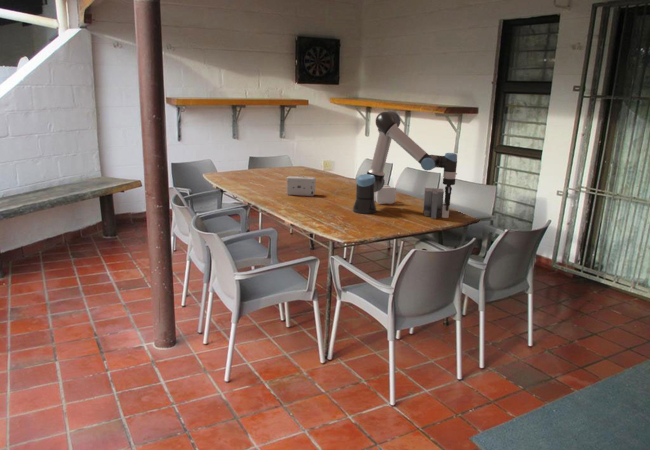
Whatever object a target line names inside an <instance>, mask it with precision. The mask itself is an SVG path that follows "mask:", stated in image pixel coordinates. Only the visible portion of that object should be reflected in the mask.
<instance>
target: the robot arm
mask: <svg viewBox="0 0 650 450" xmlns="http://www.w3.org/2000/svg"><path fill="white" fill-rule="evenodd" d="M401 120H402V119H401V117H400V115H399V114H398V113H397V112H396V111H391V110H389V111H382V112H380V113H378V114H377V116H376V118H375V125H376V127H377V132H378V138H377V141H376V145H375V146H376V147H375V149H374V153H373V157H372V162H371V166H370V168H369V169H367V171H366V174H359V175H358V176H357V178H356V188H355V189H356V190H355V191H356V192H355V193H356V196H355V201H354V204H353V206H352V207H353V208H352V212H354V213H356V214H357V213H358V214H363V215H364V214H365V215H367V214H375V213H377V206H376V202H374V192H377V191H379V190H381V189H382V187H383V186H384V185H385V172H384V170H385V166H386V161H387V158H388V155H389V151H390V147H391V142H392V140H393V141H394V142H395V143H396V144H397V145H399V146H400V148H402V149H403V150H404V151H405V152H406V153H407V154H409V155H410V156H411V157H412V158H413V159H414V160H415V161H417V162H418V163H419V165H420V167H421V169H423V170H424V171H432V170H433V169H435V168H440V169H443V173H442V174H443V175H442V177H443V178H442V184H443V185H445V187H444V203H443V204H444V205H445V211H444V215H445V216H449V215H450V205H451V197H452V196H451V195H452V191H453V188H452V186H454V185H455V184H456V176H457V175H458V173H457V165H458V154H457V153H455V152H446V153H445V154H444V155H437V154H429V153H427V151H426V150H424V149H423V148H422V147H421V146H420V145H419V144H418V143H416V142H415V141H414V140H413V139H412V138H411V137H410V136H409V135H408V134H406V133H405V132H404V131H403V130H402V129H401V128H400V125H401Z"/></svg>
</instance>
